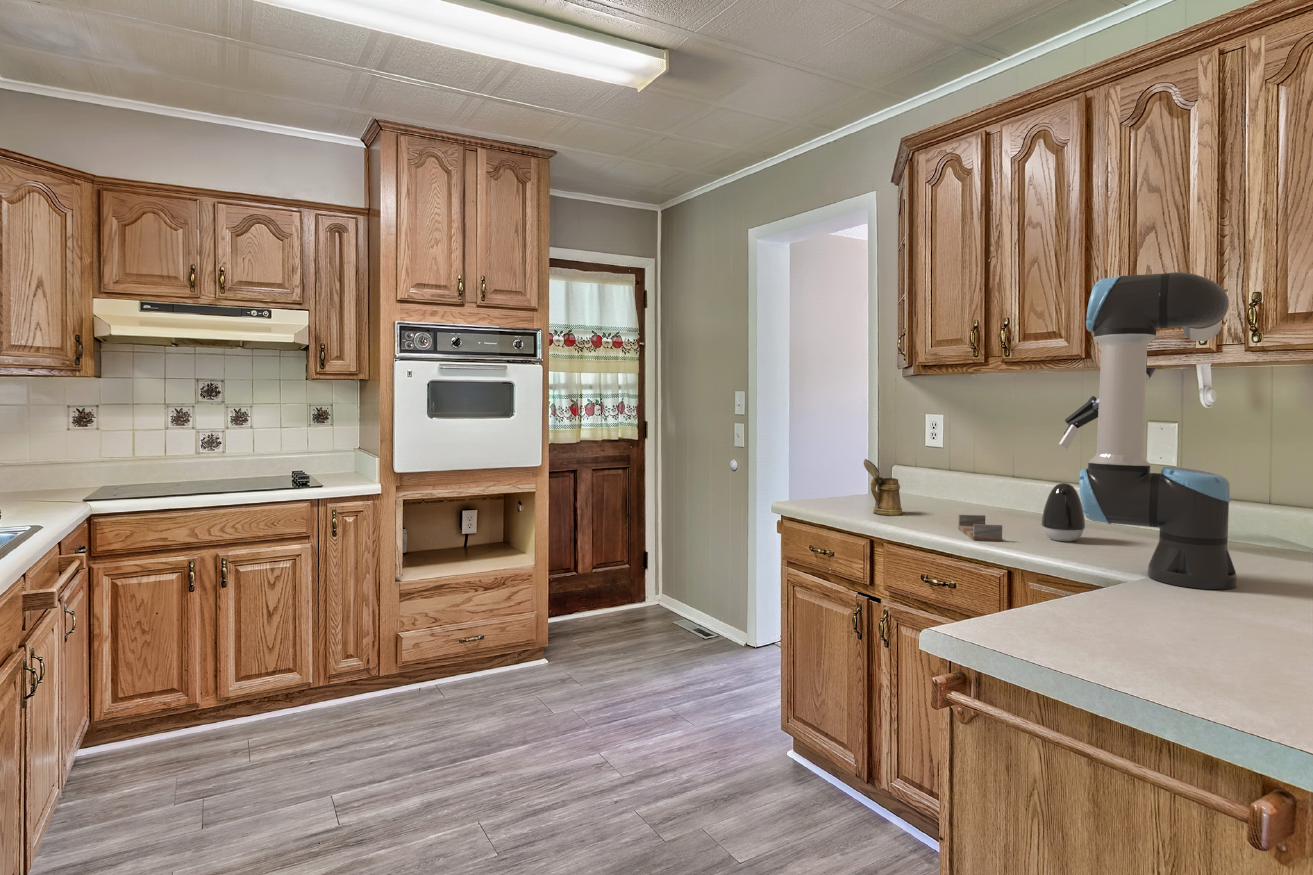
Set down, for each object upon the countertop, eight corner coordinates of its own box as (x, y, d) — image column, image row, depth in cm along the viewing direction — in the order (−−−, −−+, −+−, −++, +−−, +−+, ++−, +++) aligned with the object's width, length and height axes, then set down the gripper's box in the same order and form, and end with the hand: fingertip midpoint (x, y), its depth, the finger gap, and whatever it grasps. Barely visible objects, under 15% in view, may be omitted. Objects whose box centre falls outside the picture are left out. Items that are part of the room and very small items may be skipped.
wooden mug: (855, 513, 243) (856, 457, 241) (891, 510, 247) (892, 456, 246) (872, 517, 234) (872, 460, 233) (908, 514, 239) (909, 458, 237)
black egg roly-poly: (1040, 541, 197) (1042, 484, 196) (1041, 534, 206) (1042, 479, 205) (1085, 545, 192) (1087, 486, 191) (1083, 538, 202) (1085, 481, 201)
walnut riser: (1001, 541, 198) (1002, 525, 197) (974, 540, 199) (974, 524, 198) (984, 529, 213) (984, 515, 213) (958, 529, 214) (958, 514, 214)
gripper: (1179, 399, 191) (1135, 466, 189) (1092, 390, 214) (1052, 451, 212) (1164, 381, 188) (1120, 450, 186) (1078, 375, 211) (1038, 436, 209)
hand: (1084, 450), depth 199 cm, fingers open, 13 cm apart
